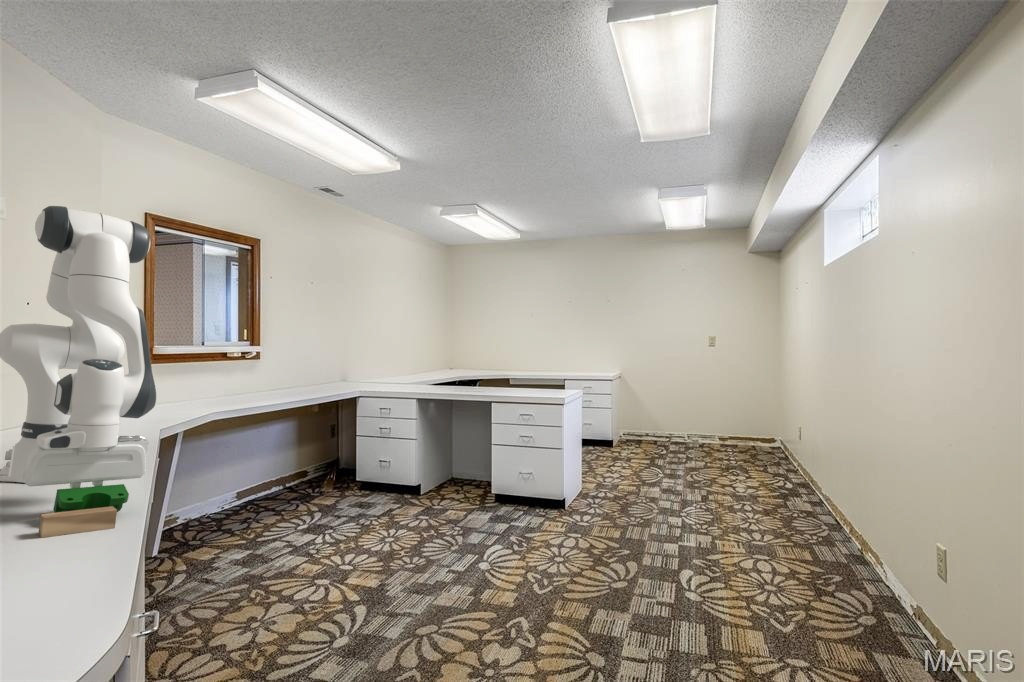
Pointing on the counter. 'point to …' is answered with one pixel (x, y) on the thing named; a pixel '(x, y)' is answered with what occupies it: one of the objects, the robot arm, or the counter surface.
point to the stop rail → (77, 521)
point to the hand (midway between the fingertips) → (83, 503)
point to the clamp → (91, 497)
